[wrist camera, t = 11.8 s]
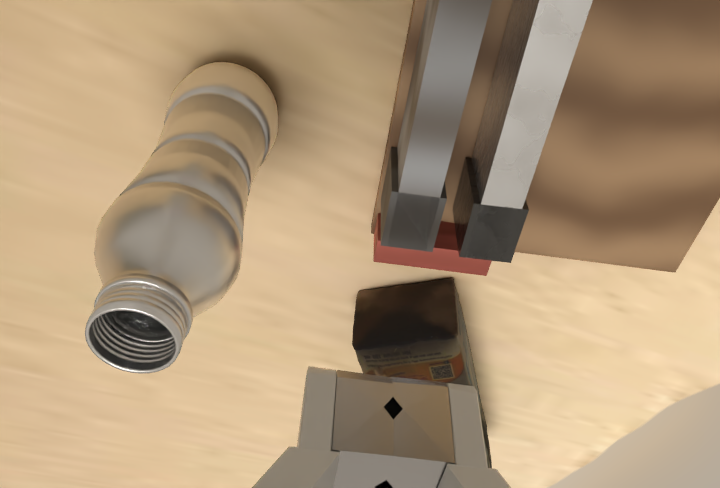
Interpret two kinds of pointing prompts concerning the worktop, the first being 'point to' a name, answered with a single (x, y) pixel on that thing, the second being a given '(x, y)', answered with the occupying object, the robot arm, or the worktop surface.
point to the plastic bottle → (181, 219)
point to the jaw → (515, 125)
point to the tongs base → (562, 135)
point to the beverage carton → (415, 336)
